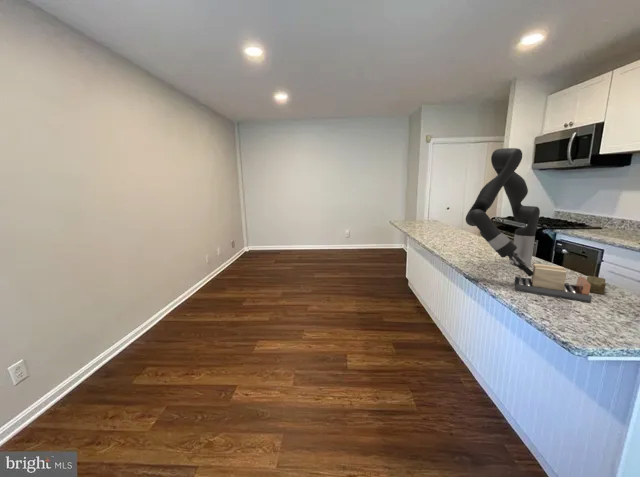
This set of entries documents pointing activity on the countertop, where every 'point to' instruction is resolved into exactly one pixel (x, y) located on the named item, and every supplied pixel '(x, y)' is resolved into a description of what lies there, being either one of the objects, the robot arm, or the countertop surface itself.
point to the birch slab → (548, 276)
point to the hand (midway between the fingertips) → (531, 274)
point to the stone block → (596, 284)
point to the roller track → (569, 292)
